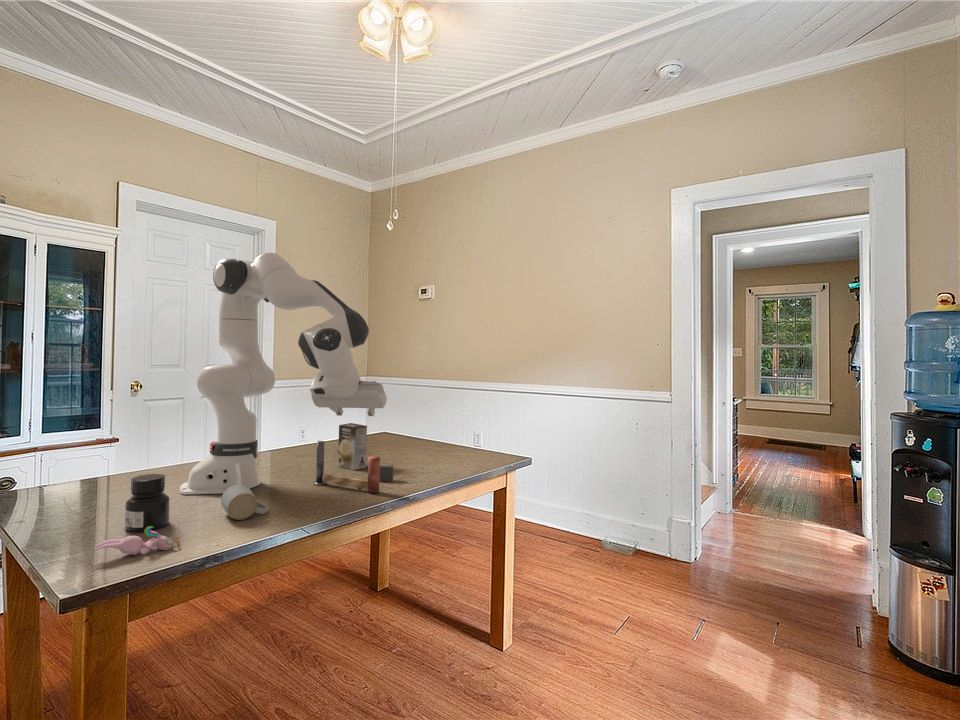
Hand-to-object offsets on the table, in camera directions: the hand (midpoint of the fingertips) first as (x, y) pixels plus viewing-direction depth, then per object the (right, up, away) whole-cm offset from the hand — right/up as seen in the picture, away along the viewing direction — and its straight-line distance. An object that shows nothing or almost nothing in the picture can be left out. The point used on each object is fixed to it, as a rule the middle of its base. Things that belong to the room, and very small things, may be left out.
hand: (356, 414), depth 138 cm
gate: (-6, -25, +14) cm, 30 cm away
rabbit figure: (-37, -26, -37) cm, 58 cm away
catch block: (+4, -26, +25) cm, 36 cm away
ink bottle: (-46, -25, -21) cm, 56 cm away
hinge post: (-17, -25, +19) cm, 36 cm away
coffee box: (-13, -25, +42) cm, 51 cm away
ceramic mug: (-26, -26, -12) cm, 39 cm away
